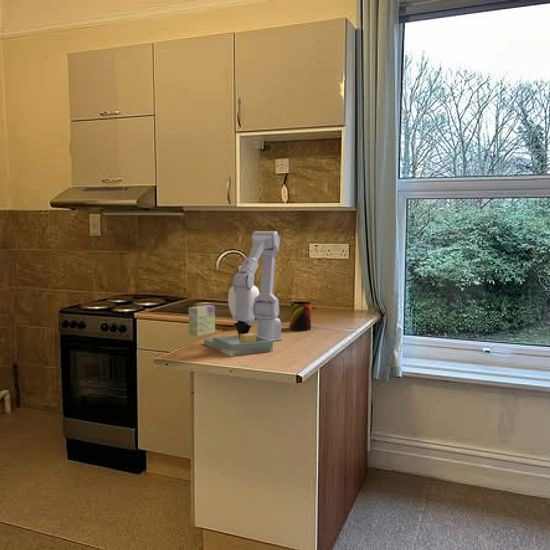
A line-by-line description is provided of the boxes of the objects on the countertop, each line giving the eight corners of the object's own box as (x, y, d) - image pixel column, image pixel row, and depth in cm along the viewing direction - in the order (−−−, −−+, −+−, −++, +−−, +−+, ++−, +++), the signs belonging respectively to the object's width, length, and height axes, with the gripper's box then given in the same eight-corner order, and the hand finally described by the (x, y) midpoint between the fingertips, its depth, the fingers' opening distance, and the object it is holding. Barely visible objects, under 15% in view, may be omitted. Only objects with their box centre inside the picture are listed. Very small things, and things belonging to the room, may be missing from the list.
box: (206, 331, 243) (206, 304, 242) (215, 333, 240) (215, 305, 239) (188, 334, 235) (188, 307, 234) (197, 336, 232) (197, 308, 231)
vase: (229, 324, 261) (229, 265, 259) (259, 324, 261) (259, 265, 259) (227, 329, 247) (227, 267, 244) (259, 330, 247) (259, 267, 245)
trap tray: (243, 339, 225) (243, 329, 225) (272, 351, 204) (272, 340, 204) (204, 343, 217) (204, 333, 217) (230, 356, 196) (230, 345, 196)
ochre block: (250, 344, 206) (250, 332, 206) (256, 347, 202) (256, 334, 202) (239, 345, 204) (239, 333, 204) (245, 348, 200) (245, 336, 200)
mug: (305, 325, 260) (305, 300, 258) (313, 331, 246) (313, 304, 245) (285, 326, 258) (285, 300, 257) (292, 331, 244) (292, 304, 243)
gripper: (225, 303, 209) (225, 339, 211) (242, 308, 197) (242, 346, 198) (241, 302, 213) (241, 337, 214) (259, 307, 200) (259, 344, 201)
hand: (243, 341), depth 206 cm, fingers closed
